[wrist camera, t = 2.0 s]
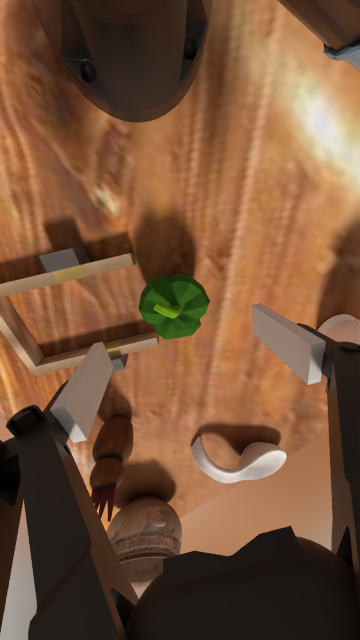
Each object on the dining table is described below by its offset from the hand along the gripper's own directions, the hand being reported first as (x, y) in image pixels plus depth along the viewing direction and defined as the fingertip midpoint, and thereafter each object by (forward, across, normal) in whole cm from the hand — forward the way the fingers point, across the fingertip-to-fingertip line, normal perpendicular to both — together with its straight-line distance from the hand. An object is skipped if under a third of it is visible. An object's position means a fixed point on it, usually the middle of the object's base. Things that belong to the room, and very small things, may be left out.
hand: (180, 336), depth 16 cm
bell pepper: (+14, 0, 0) cm, 14 cm away
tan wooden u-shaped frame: (+13, -14, 0) cm, 19 cm away
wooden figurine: (+14, -17, -24) cm, 32 cm away
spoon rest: (+14, +7, -42) cm, 45 cm away
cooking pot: (+14, -21, -57) cm, 62 cm away
